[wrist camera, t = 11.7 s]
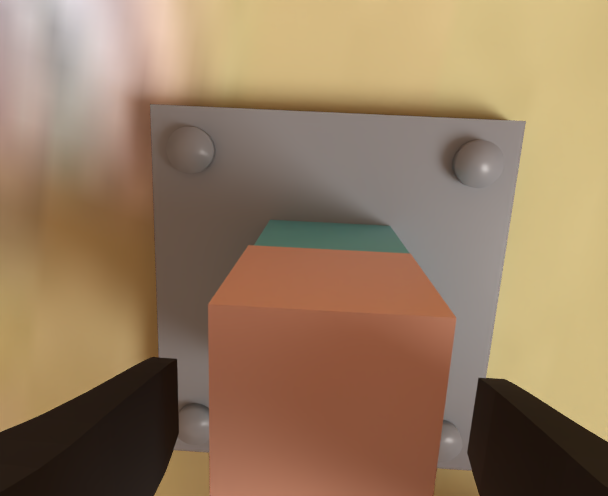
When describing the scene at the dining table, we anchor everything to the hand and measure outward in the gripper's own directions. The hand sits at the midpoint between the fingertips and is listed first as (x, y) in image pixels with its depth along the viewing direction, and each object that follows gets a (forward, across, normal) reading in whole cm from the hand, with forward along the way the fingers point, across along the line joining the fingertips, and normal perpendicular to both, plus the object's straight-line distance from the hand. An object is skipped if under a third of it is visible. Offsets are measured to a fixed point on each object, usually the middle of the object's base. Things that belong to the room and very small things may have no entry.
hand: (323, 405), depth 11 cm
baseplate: (+8, 0, 0) cm, 8 cm away
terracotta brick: (+2, 0, 0) cm, 2 cm away
